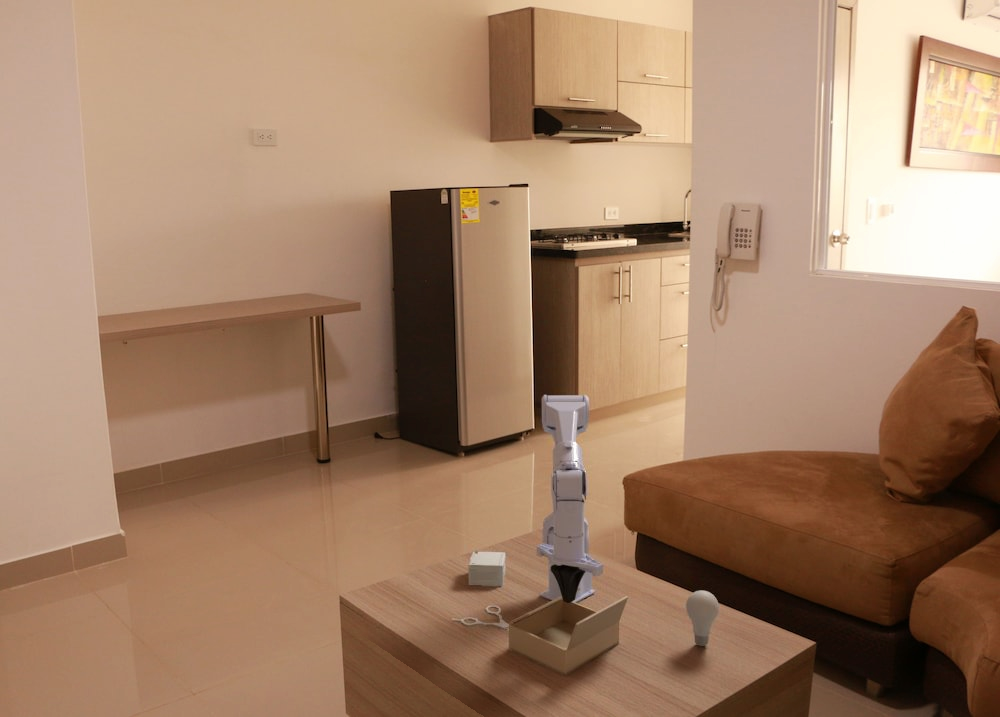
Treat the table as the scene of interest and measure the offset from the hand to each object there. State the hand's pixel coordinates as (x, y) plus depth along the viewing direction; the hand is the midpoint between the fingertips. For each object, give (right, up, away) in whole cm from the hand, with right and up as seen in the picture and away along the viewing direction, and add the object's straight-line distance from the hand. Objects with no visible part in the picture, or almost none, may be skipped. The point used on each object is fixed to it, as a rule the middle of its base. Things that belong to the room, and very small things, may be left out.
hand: (568, 600), depth 169 cm
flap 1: (-4, -2, +4) cm, 6 cm away
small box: (-16, -4, +33) cm, 37 cm away
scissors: (-12, -9, +11) cm, 19 cm away
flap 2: (+5, -3, -4) cm, 7 cm away
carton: (-1, -10, +3) cm, 10 cm away
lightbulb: (+25, -9, +2) cm, 27 cm away
